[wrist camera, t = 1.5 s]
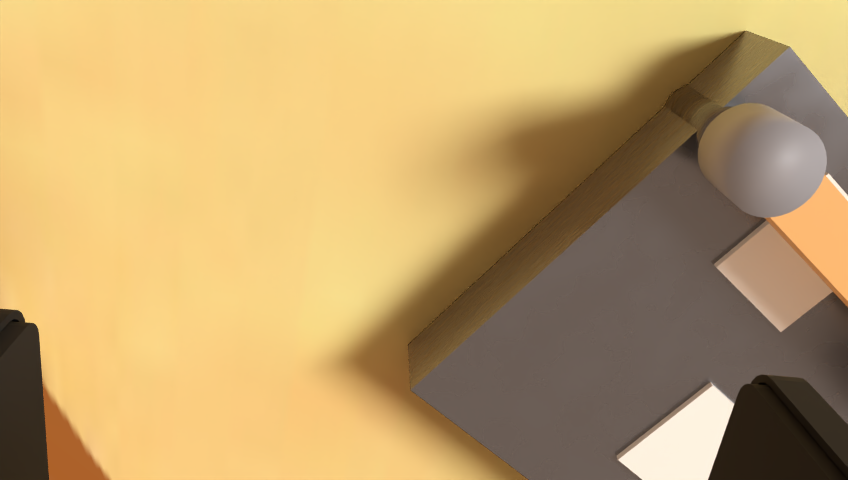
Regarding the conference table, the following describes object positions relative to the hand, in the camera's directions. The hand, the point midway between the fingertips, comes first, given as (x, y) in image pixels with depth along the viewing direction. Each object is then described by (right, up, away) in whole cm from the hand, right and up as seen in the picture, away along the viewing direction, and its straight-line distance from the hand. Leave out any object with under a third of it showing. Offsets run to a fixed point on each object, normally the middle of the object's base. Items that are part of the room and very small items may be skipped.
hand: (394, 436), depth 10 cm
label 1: (+14, -8, +28) cm, 32 cm away
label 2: (+17, +2, +24) cm, 29 cm away
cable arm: (+19, +1, +22) cm, 29 cm away
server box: (+14, -1, +29) cm, 32 cm away
